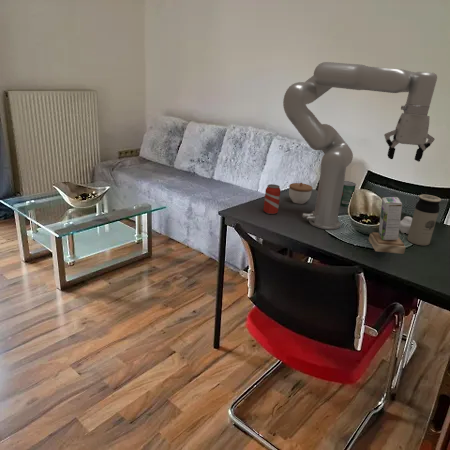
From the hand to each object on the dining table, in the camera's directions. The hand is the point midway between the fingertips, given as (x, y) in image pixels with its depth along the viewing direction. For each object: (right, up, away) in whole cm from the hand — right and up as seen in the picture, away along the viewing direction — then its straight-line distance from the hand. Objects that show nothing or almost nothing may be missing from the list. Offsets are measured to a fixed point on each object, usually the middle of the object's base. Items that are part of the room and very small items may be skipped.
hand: (403, 159), depth 143 cm
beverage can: (-44, -18, +31) cm, 57 cm away
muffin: (+9, -27, +19) cm, 34 cm away
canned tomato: (-8, -14, +47) cm, 50 cm away
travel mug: (+10, -30, +11) cm, 34 cm away
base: (-5, -32, +5) cm, 33 cm away
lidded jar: (-29, -13, +47) cm, 57 cm away
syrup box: (-4, -28, +3) cm, 28 cm away
